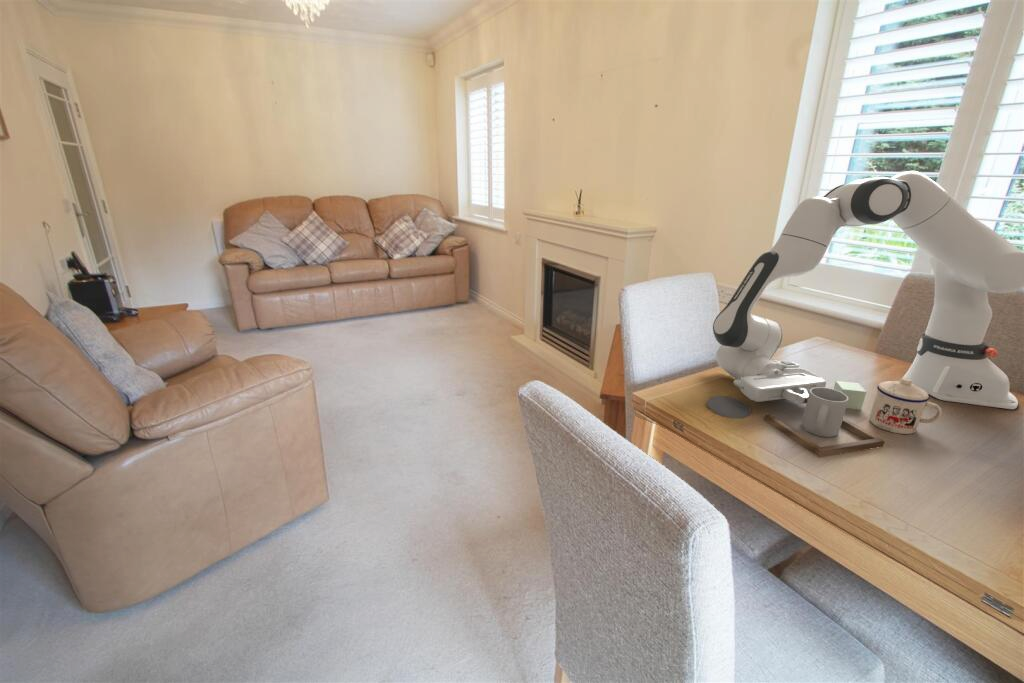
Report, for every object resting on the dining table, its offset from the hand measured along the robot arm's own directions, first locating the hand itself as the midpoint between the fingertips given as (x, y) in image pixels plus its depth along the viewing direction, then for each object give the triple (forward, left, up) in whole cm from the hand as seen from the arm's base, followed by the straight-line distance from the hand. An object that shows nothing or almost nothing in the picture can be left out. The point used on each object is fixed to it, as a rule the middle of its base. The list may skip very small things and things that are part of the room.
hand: (808, 400), depth 106 cm
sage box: (-9, -16, -6) cm, 19 cm away
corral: (-3, +3, -5) cm, 7 cm away
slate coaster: (+16, +2, -6) cm, 17 cm away
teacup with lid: (-19, -9, -6) cm, 22 cm away
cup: (-3, +3, -6) cm, 7 cm away
